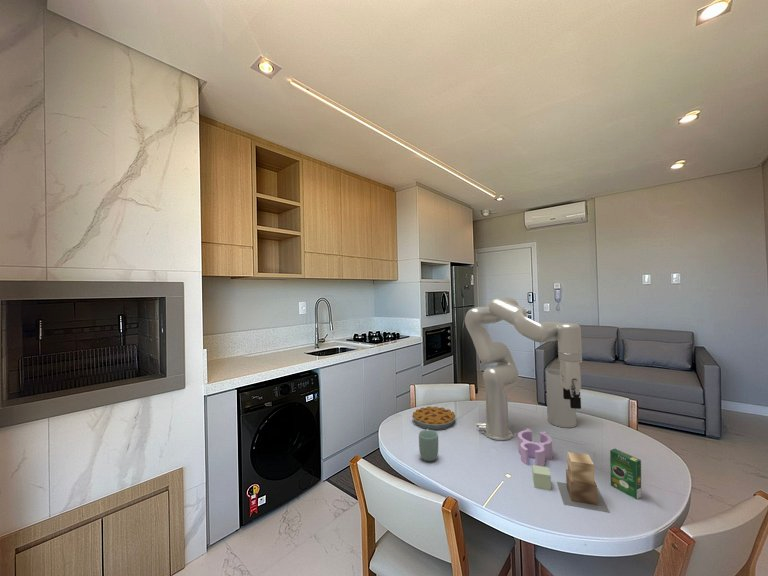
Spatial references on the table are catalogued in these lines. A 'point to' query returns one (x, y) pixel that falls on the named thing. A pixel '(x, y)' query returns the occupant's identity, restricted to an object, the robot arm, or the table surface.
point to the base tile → (567, 501)
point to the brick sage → (541, 477)
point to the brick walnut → (581, 491)
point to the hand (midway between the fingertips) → (571, 403)
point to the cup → (428, 445)
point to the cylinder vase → (558, 402)
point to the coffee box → (625, 473)
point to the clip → (534, 447)
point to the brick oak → (580, 468)
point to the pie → (433, 418)
